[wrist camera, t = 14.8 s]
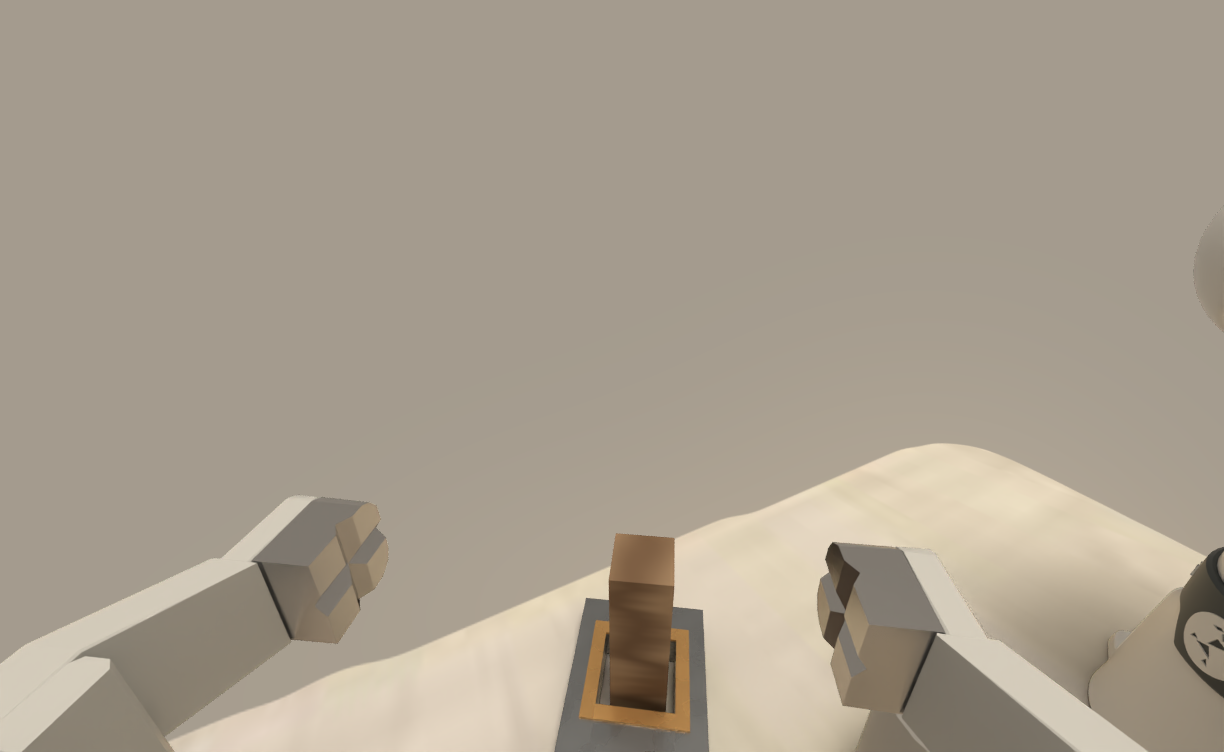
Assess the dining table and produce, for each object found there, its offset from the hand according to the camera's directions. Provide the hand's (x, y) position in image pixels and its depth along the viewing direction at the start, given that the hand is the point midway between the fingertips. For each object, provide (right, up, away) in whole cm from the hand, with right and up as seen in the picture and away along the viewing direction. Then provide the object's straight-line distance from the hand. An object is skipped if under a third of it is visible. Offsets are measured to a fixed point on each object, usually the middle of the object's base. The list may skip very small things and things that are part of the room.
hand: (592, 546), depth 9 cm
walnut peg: (+2, -21, +29) cm, 36 cm away
